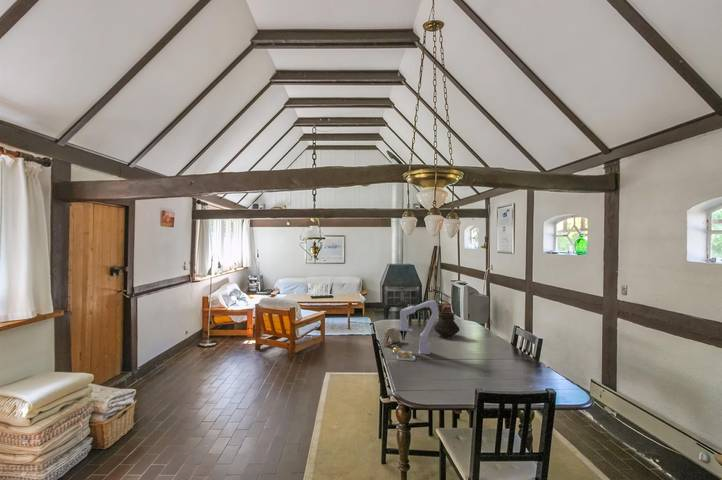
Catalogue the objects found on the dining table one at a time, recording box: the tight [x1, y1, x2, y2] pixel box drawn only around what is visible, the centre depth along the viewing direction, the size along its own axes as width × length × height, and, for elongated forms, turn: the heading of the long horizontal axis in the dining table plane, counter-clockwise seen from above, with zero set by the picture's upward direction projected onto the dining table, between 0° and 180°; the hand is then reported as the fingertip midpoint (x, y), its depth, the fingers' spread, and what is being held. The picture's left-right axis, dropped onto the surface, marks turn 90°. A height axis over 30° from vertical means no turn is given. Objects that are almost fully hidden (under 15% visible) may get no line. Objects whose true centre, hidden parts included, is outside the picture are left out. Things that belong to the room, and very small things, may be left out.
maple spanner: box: [397, 350, 413, 358], centre depth 289 cm, size 11×4×4 cm, turn 82°
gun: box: [382, 326, 401, 348], centre depth 332 cm, size 24×3×15 cm, turn 143°
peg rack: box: [396, 354, 416, 362], centre depth 289 cm, size 14×8×4 cm, turn 82°
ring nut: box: [392, 344, 401, 352], centre depth 306 cm, size 8×6×3 cm
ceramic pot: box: [433, 311, 461, 338], centre depth 360 cm, size 24×24×22 cm
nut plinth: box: [390, 348, 403, 355], centre depth 305 cm, size 9×9×1 cm
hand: (403, 340), depth 308 cm, fingers closed
